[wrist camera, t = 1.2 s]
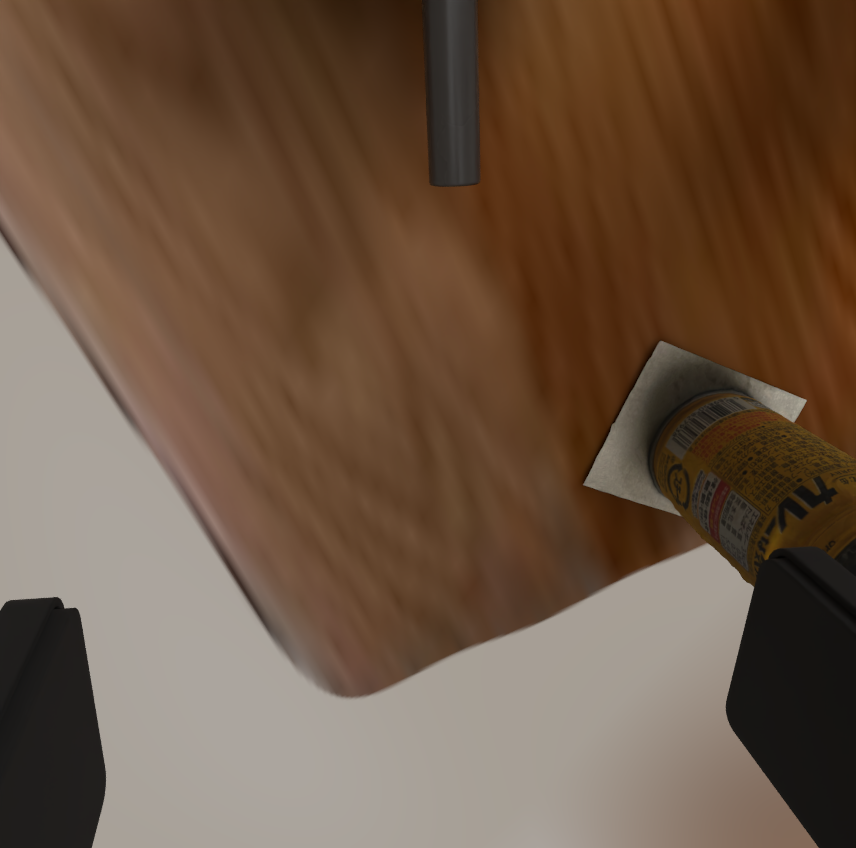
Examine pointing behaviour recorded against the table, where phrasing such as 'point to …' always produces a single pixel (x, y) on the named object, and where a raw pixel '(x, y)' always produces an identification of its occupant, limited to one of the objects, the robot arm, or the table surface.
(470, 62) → the scoop
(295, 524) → the table surface
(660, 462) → the condiment
